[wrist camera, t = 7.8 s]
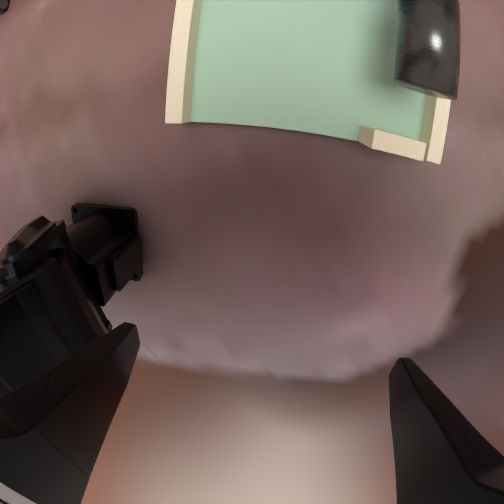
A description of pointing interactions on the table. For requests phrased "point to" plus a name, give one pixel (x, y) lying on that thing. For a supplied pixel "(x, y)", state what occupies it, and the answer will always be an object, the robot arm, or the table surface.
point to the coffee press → (4, 5)
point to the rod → (428, 47)
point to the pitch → (300, 72)
